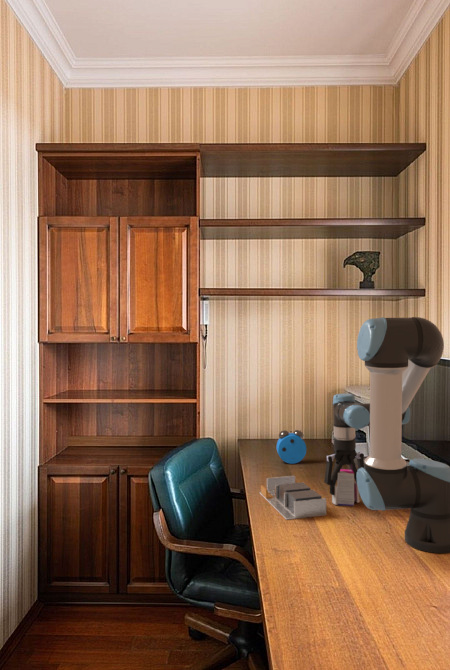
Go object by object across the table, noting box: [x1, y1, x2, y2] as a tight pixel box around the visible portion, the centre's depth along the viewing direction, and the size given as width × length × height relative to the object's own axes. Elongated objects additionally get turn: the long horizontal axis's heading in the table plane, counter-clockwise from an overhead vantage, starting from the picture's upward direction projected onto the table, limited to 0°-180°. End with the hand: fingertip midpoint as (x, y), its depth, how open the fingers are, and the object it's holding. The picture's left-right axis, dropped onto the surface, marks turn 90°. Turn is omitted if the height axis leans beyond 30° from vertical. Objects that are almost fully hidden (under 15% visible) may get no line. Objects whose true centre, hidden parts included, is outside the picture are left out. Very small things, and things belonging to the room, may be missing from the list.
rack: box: [259, 475, 327, 521], centre depth 188 cm, size 29×14×6 cm, turn 14°
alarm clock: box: [276, 429, 307, 465], centre depth 244 cm, size 13×6×15 cm, turn 92°
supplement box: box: [336, 468, 355, 507], centre depth 187 cm, size 6×6×12 cm
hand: (345, 502), depth 187 cm, fingers open, 8 cm apart
